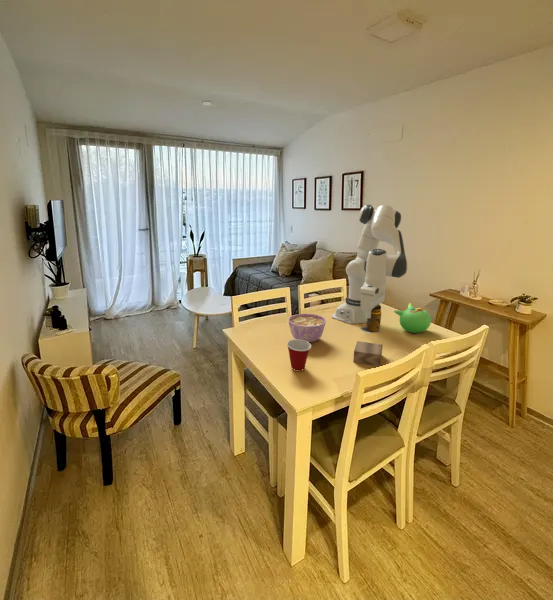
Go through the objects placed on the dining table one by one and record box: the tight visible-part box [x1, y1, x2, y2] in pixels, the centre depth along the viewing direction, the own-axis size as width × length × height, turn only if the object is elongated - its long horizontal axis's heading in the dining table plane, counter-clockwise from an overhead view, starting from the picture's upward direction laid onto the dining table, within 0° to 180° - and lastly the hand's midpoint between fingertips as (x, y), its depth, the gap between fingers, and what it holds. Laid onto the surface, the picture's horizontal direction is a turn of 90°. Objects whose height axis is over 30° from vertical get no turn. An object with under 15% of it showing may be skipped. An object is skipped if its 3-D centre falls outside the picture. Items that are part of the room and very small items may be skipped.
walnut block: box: [352, 340, 384, 367], centre depth 158 cm, size 12×12×6 cm
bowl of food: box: [287, 313, 327, 343], centre depth 178 cm, size 20×20×12 cm
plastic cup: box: [286, 338, 312, 370], centre depth 148 cm, size 11×11×12 cm
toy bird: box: [393, 302, 432, 334], centre depth 190 cm, size 18×17×15 cm
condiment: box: [358, 304, 383, 335], centre depth 152 cm, size 7×8×12 cm
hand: (372, 315), depth 153 cm, fingers closed on condiment, 6 cm apart
